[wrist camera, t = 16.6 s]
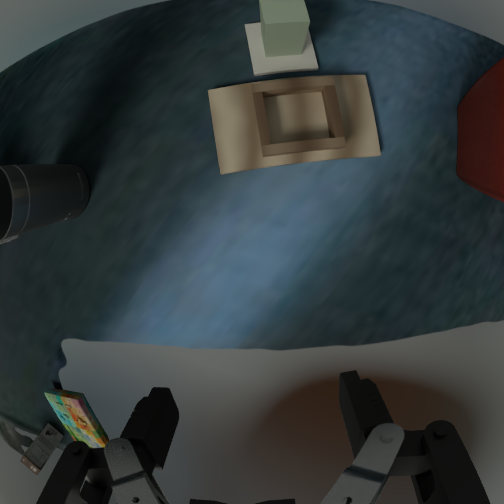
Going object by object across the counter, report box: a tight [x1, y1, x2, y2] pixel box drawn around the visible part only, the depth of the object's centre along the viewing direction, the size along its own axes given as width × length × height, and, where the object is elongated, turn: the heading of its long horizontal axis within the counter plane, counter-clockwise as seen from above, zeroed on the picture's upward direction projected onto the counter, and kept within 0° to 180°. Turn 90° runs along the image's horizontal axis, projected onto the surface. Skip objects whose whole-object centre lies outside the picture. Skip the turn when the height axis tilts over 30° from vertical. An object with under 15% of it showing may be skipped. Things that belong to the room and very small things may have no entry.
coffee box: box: [21, 423, 64, 475], centre depth 50 cm, size 9×6×16 cm
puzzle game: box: [44, 389, 109, 448], centre depth 52 cm, size 12×5×20 cm
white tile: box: [245, 22, 318, 76], centre depth 33 cm, size 9×9×1 cm
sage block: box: [259, 0, 310, 58], centre depth 28 cm, size 5×4×10 cm
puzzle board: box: [208, 75, 381, 174], centre depth 34 cm, size 22×12×4 cm, turn 99°
